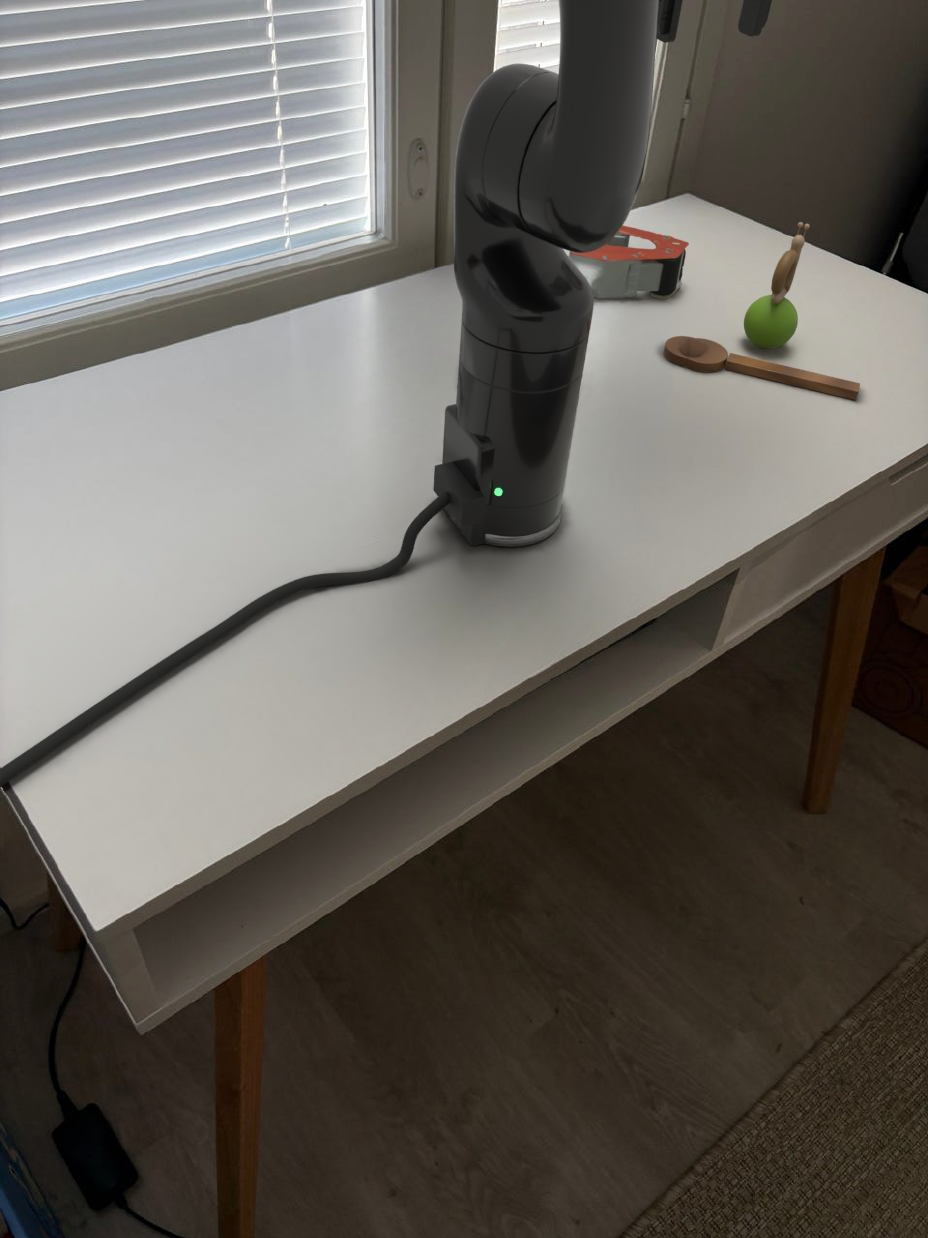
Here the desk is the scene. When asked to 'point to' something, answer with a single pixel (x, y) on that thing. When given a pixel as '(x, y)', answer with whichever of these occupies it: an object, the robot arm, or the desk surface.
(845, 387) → the spoon
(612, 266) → the tape dispenser
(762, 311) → the snail figurine
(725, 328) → the desk surface
